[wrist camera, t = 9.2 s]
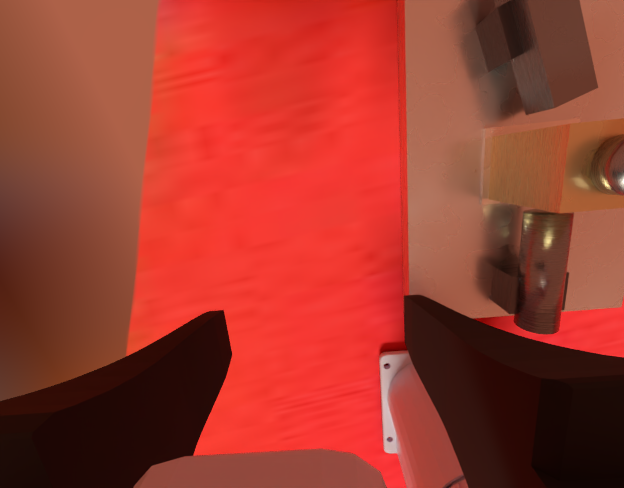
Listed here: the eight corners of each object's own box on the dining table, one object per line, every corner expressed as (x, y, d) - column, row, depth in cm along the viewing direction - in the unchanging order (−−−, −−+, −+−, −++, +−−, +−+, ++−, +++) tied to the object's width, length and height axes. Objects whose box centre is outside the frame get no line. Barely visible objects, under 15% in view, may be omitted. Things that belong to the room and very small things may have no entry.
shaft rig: (600, 297, 21) (676, 332, 17) (403, 312, 22) (425, 350, 17) (656, -40, 16) (787, -119, 11) (396, -7, 17) (425, -69, 12)
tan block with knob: (563, 192, 18) (703, 208, 11) (488, 199, 18) (583, 218, 11) (571, 128, 17) (729, 105, 10) (492, 136, 17) (598, 118, 10)
